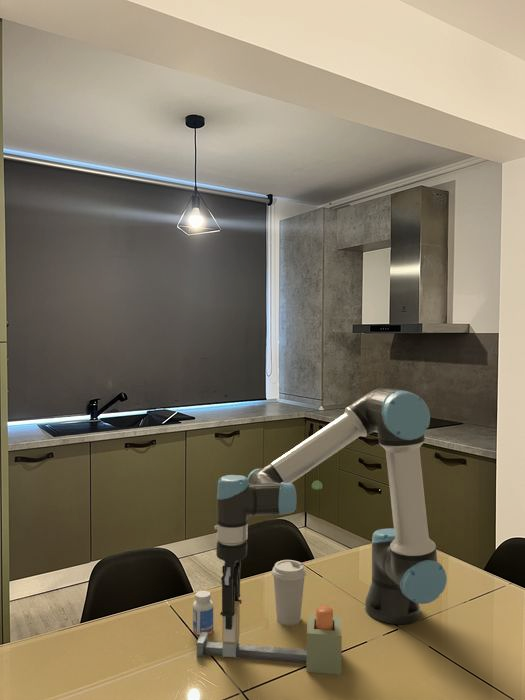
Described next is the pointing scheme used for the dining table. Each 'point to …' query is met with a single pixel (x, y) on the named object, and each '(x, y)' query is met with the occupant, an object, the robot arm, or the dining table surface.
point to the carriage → (230, 647)
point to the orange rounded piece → (324, 618)
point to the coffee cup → (288, 591)
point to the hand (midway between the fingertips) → (231, 635)
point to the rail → (251, 651)
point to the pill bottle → (202, 613)
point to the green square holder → (324, 647)
